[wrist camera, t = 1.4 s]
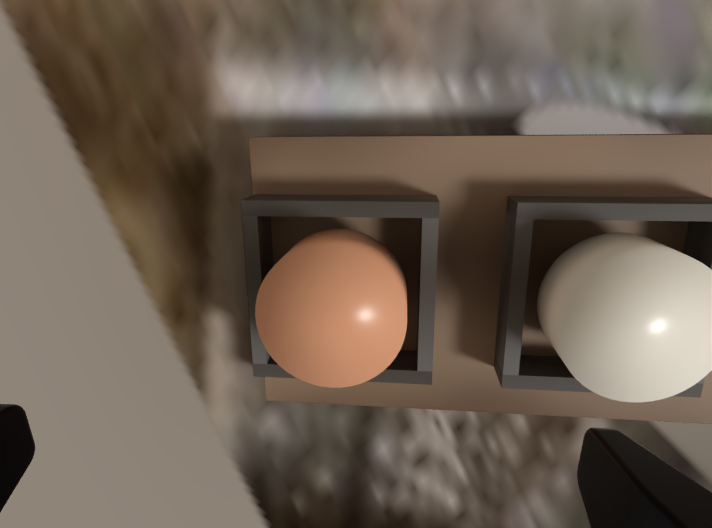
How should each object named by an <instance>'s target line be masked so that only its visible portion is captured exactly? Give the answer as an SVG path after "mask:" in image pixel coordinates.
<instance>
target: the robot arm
mask: <svg viewBox="0 0 712 528" xmlns="http://www.w3.org/2000/svg"><path fill="white" fill-rule="evenodd" d="M34 452H35V443H34V440H33V436H32V433H31V429H30V426H29V423H28V419H27V416H26V413H25V411H24V410H23V408H22V407H20V406H18V405H14V404H0V512H1V510H2V509H3V507H4V505H5V504H6V502H7V500H8V499H9V497H10V495H11V494H12V492H13V490H14V489H15V487H16V486H17V484H18V482H19V481H20V479H21V477H22V476H23V474H24V473H25V471H26V469H27V468H28V466H29V464H30V463H31V461H32V459H33V456H34ZM577 479H578V485H579V489H580V492H581V496H582V499H583V502H584V506H585V509H586V512H587V516H588V519H589V522H590V526H591V528H712V492H710V491H709V490H707V489H706V488H704V487H703V486H701V485H700V484H698V483H697V482H695V481H694V480H692V479H691V478H689V477H688V476H686V475H685V474H683V473H682V472H680V471H679V470H677V469H676V468H674V467H673V466H671V465H670V464H668V463H667V462H666V461H664V460H663V459H661V458H660V457H658V456H657V455H655V454H654V453H652V452H651V451H649V450H648V449H646V448H645V447H643V446H642V445H640V444H639V443H637V442H636V441H634V440H633V439H631V438H630V437H628V436H627V435H625V434H624V433H622V432H621V431H619V430H617V429H612V428H590V429H588V430H587V431H586V433H585V436H584V440H583V445H582V450H581V455H580V460H579V464H578V470H577Z"/></svg>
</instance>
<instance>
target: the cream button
mask: <svg viewBox="0 0 712 528" xmlns="http://www.w3.org/2000/svg"><path fill="white" fill-rule="evenodd" d="M537 314H538V319H539V323H540V325H541V328H542V330H543V332H544V334H545V335H546V337H547V339H548V340H549V342H550V343H551V345H552V346H553V347H554V349H555V350H556V352H557V353H558V355H559V356H560V358H561V359H562V361H563V362H564V364H565V365H566V367H567V368H568V370H569V371H570V373H571V374H572V375H573V376H574V377H575V378H576V380H578V381H579V382H580V383H581V384H582V385H583V386H585V387H586V388H588V389H589V390H591V391H592V392H594V393H596V394H598V395H600V396H603V397H606V398H609V399H612V400H617V401H622V402H650V401H656V400H661V399H665V398H668V397H671V396H674V395H676V394H678V393H681V392H683V391H685V390H687V389H688V388H690V387H692V386H693V385H695V384H696V383H698V382H699V381H700V380H702V379H703V378H704V377H705V376H706V375H707V374H708V373H709V372H710V371H712V270H711V269H710V268H709V267H707V266H706V265H704V264H703V263H702V262H700V261H698V260H696V259H694V258H692V257H690V256H687V255H685V254H683V253H681V252H678V251H676V250H674V249H672V248H669V247H667V246H665V245H663V244H660V243H658V242H656V241H654V240H652V239H649V238H646V237H644V236H641V235H636V234H632V233H621V232H619V233H607V234H601V235H597V236H593V237H590V238H588V239H585V240H583V241H581V242H579V243H577V244H575V245H573V246H572V247H570V248H569V249H568V250H566V251H565V252H564V253H562V254H561V255H560V256H559V257H558V258H557V259H556V260H555V261H554V263H553V264H552V265H551V266H550V268H549V269H548V271H547V272H546V274H545V276H544V278H543V280H542V282H541V285H540V288H539V291H538V297H537Z"/></svg>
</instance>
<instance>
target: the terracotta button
mask: <svg viewBox="0 0 712 528" xmlns="http://www.w3.org/2000/svg"><path fill="white" fill-rule="evenodd" d="M255 319H256V326H257V329H258V333H259V336H260V338H261V341H262V343H263V345H264V347H265V348H266V350H267V352H268V353H269V354H270V356H271V357H272V358H273V360H274V361H275V362H276V363H277V364H278V365H279V366H280V367H282V368H283V369H284V370H285V371H286V372H288V373H289V374H291V375H292V376H294V377H296V378H298V379H300V380H302V381H304V382H307V383H310V384H313V385H317V386H321V387H330V388H342V387H350V386H354V385H358V384H361V383H363V382H366V381H368V380H370V379H372V378H374V377H376V376H377V375H379V374H380V373H381V372H383V371H384V370H385V369H386V368H387V367H388V366H389V365H390V364H391V363H392V362H393V360H394V359H395V358H396V356H397V355H398V353H399V351H400V349H401V347H402V344H403V342H404V339H405V335H406V329H407V285H406V280H405V277H404V274H403V271H402V269H401V267H400V265H399V263H398V261H397V260H396V258H395V257H394V255H393V254H392V253H391V252H390V251H389V250H388V249H387V248H386V247H385V246H384V245H383V244H382V243H380V242H379V241H377V240H376V239H374V238H373V237H371V236H369V235H367V234H364V233H361V232H358V231H355V230H350V229H340V228H339V229H327V230H322V231H319V232H316V233H313V234H311V235H309V236H307V237H305V238H303V239H302V240H300V241H299V242H298V243H297V244H295V245H294V246H293V247H292V248H291V249H290V250H289V251H288V252H287V253H286V254H285V255H284V256H283V257H282V258H281V259H280V260H279V261H278V262H277V263H276V264H275V265H274V266H273V268H272V269H271V270H270V271H269V272H268V274H267V275H266V277H265V278H264V280H263V282H262V284H261V286H260V288H259V291H258V295H257V298H256V305H255Z"/></svg>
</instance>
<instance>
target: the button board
mask: <svg viewBox="0 0 712 528" xmlns="http://www.w3.org/2000/svg"><path fill="white" fill-rule="evenodd" d="M249 148H250V163H251V178H252V193H253V195H252V196H250V197H248V198H245V199H243V200H241V211H242V225H243V238H244V252H245V265H246V279H247V292H248V306H249V319H250V333H251V346H252V360H253V373H254V376H256V377H265V387H266V400H267V401H286V402H305V403H324V404H343V405H362V406H381V407H400V408H419V409H438V410H456V411H475V412H494V413H513V414H532V415H551V416H570V417H589V418H608V419H627V420H646V421H665V422H684V423H703V424H712V371H710V372H709V373H708V374H707V375H706V376H705V377H704V378H703V379H702V380H700V381H699V382H698V383H696V384H695V385H693V386H692V387H690V388H688V389H687V390H685V391H683V392H681V393H678V394H676V395H674V396H671V397H668V398H665V399H661V400H656V401H650V402H622V401H617V400H612V399H609V398H606V397H603V396H600V395H598V394H596V393H594V392H592V391H591V390H589V389H588V388H586V387H585V386H583V385H582V384H581V383H580V382H579V381H578V380H576V378H575V377H574V376H573V375H572V374H571V373H570V371H569V370H568V368H567V367H566V365H565V364H564V362H563V361H562V359H561V358H560V356H559V355H558V353H557V352H556V350H555V349H554V347H553V346H552V345H551V343H550V342H549V340H548V339H547V337H546V335H545V334H544V332H543V330H542V328H541V325H540V323H539V319H538V314H537V297H538V291H539V288H540V285H541V282H542V280H543V278H544V276H545V274H546V272H547V271H548V269H549V268H550V266H551V265H552V264H553V263H554V261H555V260H556V259H557V258H558V257H559V256H560V255H561V254H562V253H564V252H565V251H566V250H568V249H569V248H570V247H572V246H573V245H575V244H577V243H579V242H581V241H583V240H585V239H588V238H590V237H593V236H597V235H601V234H607V233H619V232H621V233H632V234H636V235H641V236H644V237H646V238H649V239H652V240H654V241H656V242H658V243H660V244H663V245H665V246H667V247H669V248H672V249H674V250H676V251H678V252H681V253H683V254H685V255H687V256H690V257H692V258H694V259H696V260H698V261H700V262H702V263H703V264H704V265H706V266H707V267H709V268H710V269H711V270H712V134H634V135H633V134H627V135H626V134H624V135H623V134H620V135H455V136H292V137H249ZM339 228H340V229H350V230H355V231H358V232H361V233H364V234H367V235H369V236H371V237H373V238H374V239H376V240H377V241H379V242H380V243H382V244H383V245H384V246H385V247H386V248H387V249H388V250H389V251H390V252H391V253H392V254H393V255H394V257H395V258H396V260H397V261H398V263H399V265H400V267H401V269H402V271H403V274H404V277H405V280H406V285H407V329H406V335H405V339H404V342H403V344H402V347H401V349H400V351H399V353H398V355H397V356H396V358H395V359H394V360H393V362H392V363H391V364H390V365H389V366H388V367H387V368H386V369H385V370H384V371H383V372H381V373H380V374H379V375H377V376H376V377H374V378H372V379H370V380H368V381H366V382H363V383H361V384H358V385H354V386H350V387H342V388H330V387H321V386H317V385H313V384H310V383H307V382H304V381H302V380H300V379H298V378H296V377H294V376H292V375H291V374H289V373H288V372H286V371H285V370H284V369H283V368H282V367H280V366H279V365H278V364H277V363H276V362H275V361H274V360H273V358H272V357H271V356H270V354H269V353H268V352H267V350H266V348H265V347H264V345H263V343H262V341H261V338H260V336H259V333H258V329H257V326H256V319H255V305H256V298H257V295H258V291H259V288H260V286H261V284H262V282H263V280H264V278H265V277H266V275H267V274H268V272H269V271H270V270H271V269H272V268H273V266H274V265H275V264H276V263H277V262H278V261H279V260H280V259H281V258H282V257H283V256H284V255H285V254H286V253H287V252H288V251H289V250H290V249H291V248H292V247H293V246H294V245H295V244H297V243H298V242H299V241H300V240H302V239H303V238H305V237H307V236H309V235H311V234H313V233H316V232H319V231H322V230H327V229H339Z"/></svg>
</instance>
